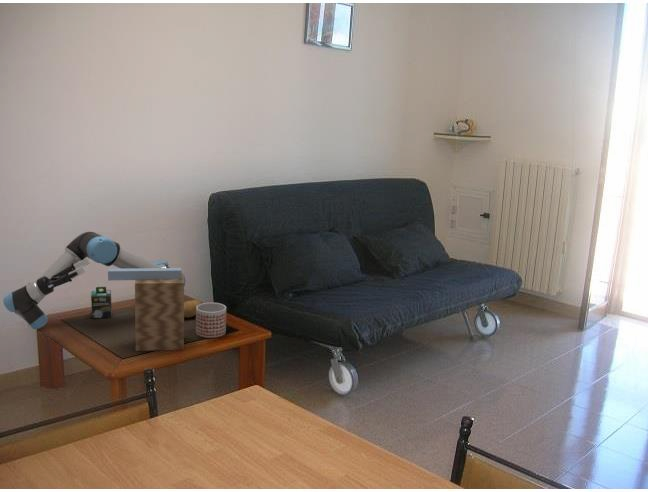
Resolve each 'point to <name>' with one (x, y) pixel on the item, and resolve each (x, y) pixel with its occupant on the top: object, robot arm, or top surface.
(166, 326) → the stand
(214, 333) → the planter
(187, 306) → the potato
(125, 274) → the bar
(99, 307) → the chalk box
